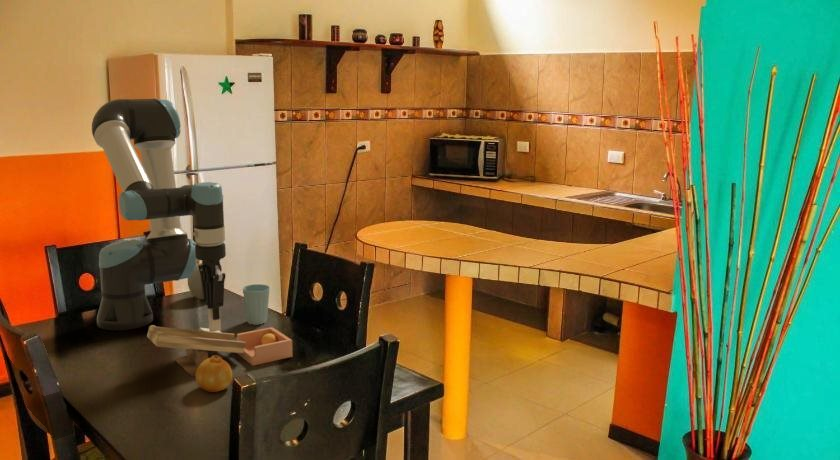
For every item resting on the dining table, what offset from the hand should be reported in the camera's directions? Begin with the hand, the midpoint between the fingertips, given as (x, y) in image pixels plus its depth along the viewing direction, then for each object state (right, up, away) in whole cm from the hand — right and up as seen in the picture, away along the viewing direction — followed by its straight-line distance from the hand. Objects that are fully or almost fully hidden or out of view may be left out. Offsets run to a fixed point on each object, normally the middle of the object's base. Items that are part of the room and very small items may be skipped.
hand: (215, 330), depth 195 cm
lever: (-4, -1, -9) cm, 10 cm away
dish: (+13, -6, -3) cm, 15 cm away
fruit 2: (+7, -10, -24) cm, 27 cm away
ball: (+14, -3, 0) cm, 15 cm away
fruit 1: (-15, +4, +44) cm, 47 cm away
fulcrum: (-1, -7, -11) cm, 13 cm away
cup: (+6, -1, +22) cm, 23 cm away
